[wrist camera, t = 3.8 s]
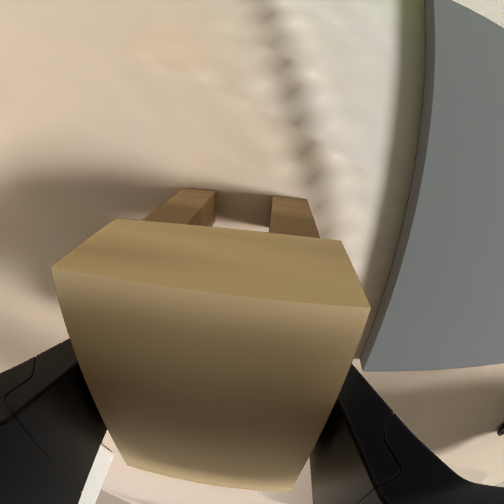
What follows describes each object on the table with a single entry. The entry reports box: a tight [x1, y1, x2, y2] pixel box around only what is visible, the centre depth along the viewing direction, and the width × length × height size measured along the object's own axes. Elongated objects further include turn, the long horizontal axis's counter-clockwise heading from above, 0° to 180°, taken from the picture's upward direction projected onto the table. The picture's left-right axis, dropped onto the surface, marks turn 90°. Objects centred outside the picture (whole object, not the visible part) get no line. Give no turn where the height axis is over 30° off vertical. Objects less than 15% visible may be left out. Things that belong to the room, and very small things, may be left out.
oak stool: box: [51, 188, 371, 492], centre depth 9 cm, size 7×5×7 cm
